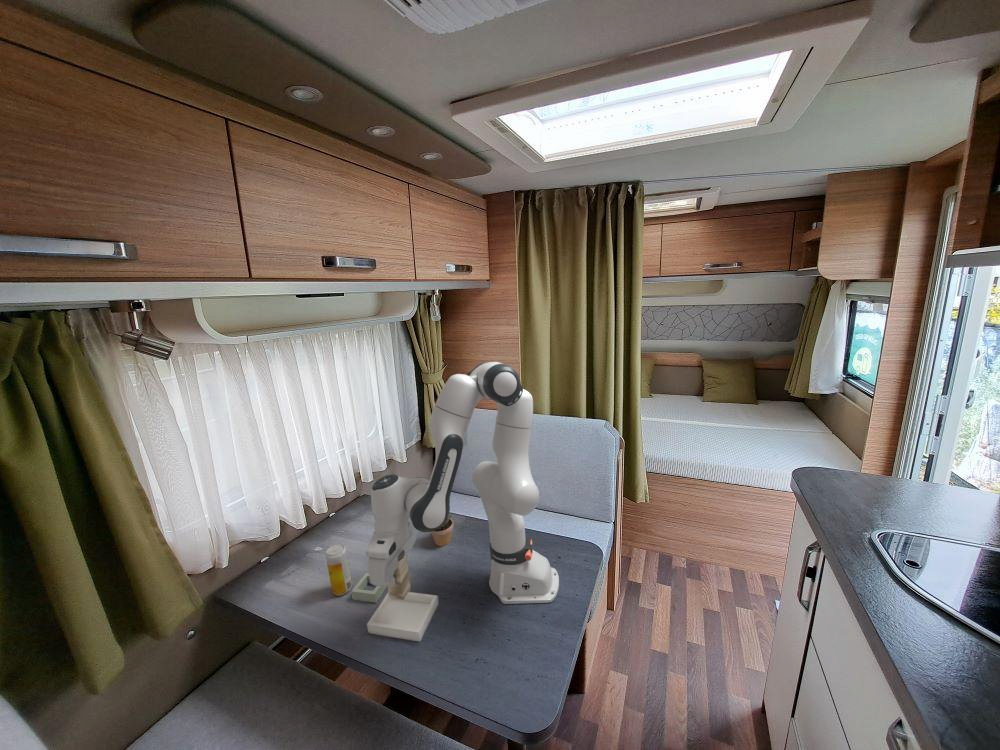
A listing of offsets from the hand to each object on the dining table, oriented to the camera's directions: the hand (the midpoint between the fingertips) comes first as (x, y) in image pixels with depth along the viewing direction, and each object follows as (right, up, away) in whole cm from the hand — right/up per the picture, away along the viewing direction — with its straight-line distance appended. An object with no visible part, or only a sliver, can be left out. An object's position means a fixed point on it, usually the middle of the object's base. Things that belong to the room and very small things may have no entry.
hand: (397, 576), depth 109 cm
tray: (+1, -14, +3) cm, 14 cm away
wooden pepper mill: (0, -6, +1) cm, 6 cm away
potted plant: (+7, -7, +37) cm, 38 cm away
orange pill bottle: (-22, -13, +16) cm, 30 cm away
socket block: (-12, -13, +14) cm, 23 cm away
